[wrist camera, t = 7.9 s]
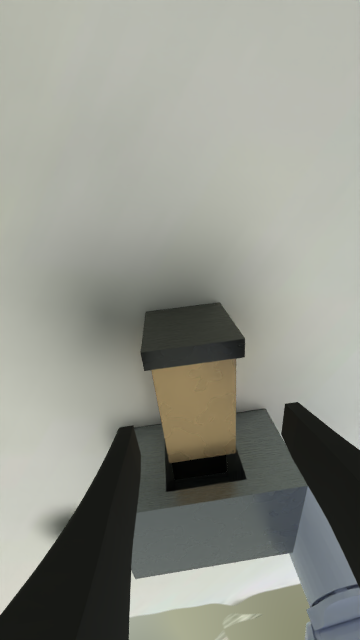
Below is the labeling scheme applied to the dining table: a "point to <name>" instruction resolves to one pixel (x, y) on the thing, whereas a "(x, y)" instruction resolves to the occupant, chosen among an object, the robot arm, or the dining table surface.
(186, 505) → the housing
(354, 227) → the dining table surface
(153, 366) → the sliding drawer
